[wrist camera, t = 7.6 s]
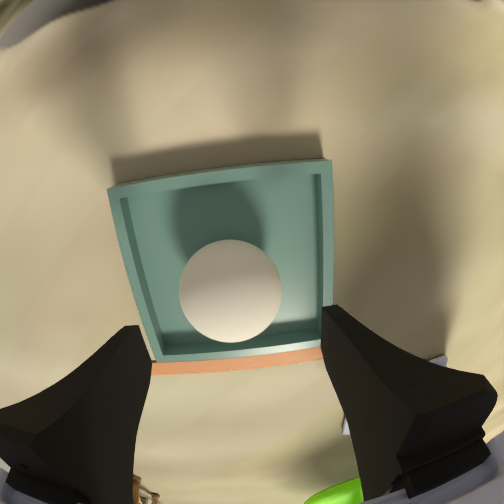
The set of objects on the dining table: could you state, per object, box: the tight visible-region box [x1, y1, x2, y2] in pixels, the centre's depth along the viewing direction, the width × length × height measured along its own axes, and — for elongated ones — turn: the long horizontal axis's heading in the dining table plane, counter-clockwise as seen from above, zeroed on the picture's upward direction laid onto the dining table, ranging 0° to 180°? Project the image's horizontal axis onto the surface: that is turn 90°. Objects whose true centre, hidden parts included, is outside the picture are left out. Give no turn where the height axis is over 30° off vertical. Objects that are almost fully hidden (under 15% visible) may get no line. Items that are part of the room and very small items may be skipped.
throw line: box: [151, 347, 323, 375], centre depth 20 cm, size 18×1×1 cm, turn 96°
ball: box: [179, 239, 282, 343], centre depth 15 cm, size 5×5×5 cm
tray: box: [107, 158, 334, 363], centre depth 17 cm, size 11×11×1 cm
